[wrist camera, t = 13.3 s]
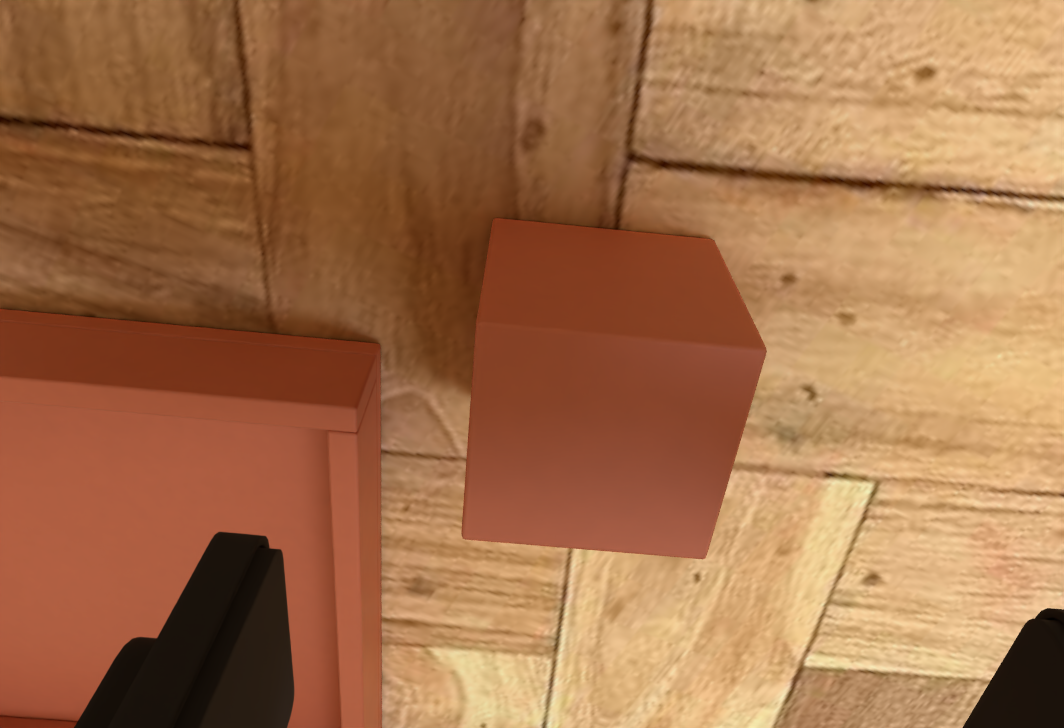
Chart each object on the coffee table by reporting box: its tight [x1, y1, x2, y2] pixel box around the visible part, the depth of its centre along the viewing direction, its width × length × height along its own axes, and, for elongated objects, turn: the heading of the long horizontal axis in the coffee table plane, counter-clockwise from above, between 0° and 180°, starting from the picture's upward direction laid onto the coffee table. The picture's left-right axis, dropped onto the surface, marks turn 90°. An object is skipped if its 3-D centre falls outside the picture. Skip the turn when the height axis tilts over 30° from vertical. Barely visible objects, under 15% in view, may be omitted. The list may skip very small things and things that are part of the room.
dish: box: [0, 309, 382, 728], centre depth 19 cm, size 14×13×2 cm
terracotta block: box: [462, 218, 767, 559], centre depth 15 cm, size 4×4×4 cm
